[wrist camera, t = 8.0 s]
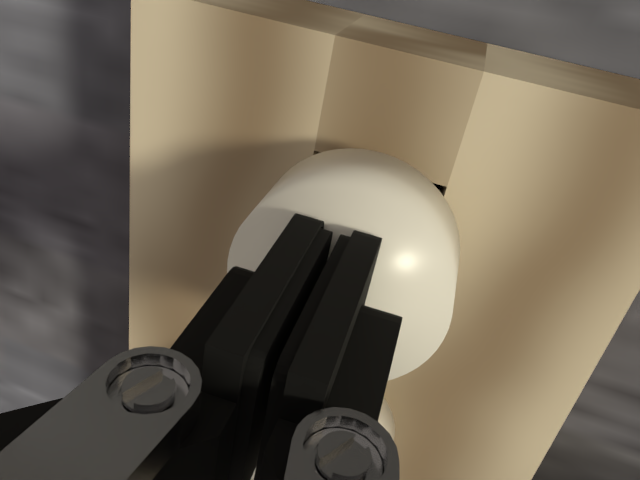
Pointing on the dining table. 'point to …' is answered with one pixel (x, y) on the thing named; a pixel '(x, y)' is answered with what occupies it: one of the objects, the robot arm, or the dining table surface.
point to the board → (428, 158)
